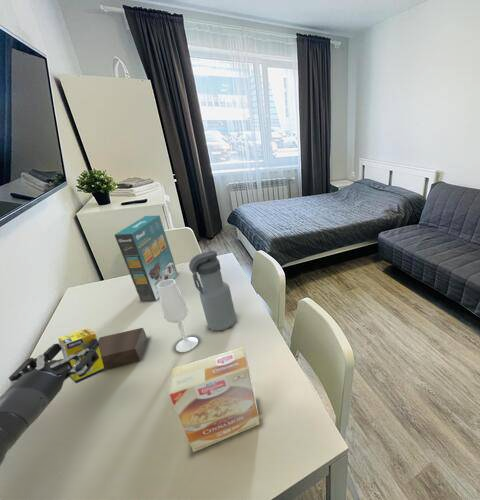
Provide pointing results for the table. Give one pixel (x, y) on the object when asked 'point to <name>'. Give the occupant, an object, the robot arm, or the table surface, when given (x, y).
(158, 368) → the table surface
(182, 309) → the champagne flute
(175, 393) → the coffeecake box
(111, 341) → the block
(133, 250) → the cake mix box
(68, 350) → the supplement box
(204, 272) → the water bottle
